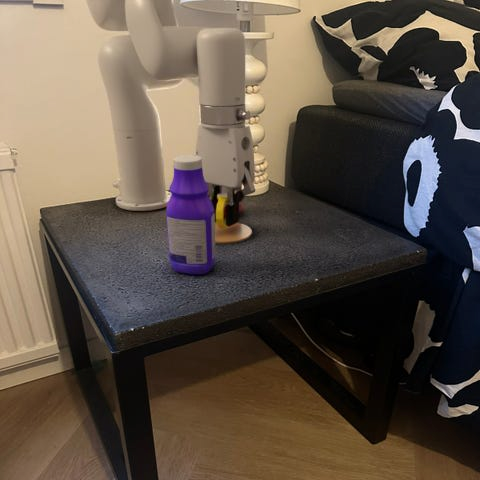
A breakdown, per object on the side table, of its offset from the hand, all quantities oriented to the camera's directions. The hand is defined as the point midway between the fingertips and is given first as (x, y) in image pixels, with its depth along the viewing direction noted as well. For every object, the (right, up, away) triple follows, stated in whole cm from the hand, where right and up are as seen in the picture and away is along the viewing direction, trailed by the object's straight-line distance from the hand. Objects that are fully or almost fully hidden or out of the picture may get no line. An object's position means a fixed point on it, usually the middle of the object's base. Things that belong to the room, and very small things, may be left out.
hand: (225, 221), depth 88 cm
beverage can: (0, +4, +10) cm, 11 cm away
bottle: (-5, -10, -11) cm, 16 cm away
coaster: (0, -2, +1) cm, 2 cm away
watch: (0, -1, +1) cm, 1 cm away
